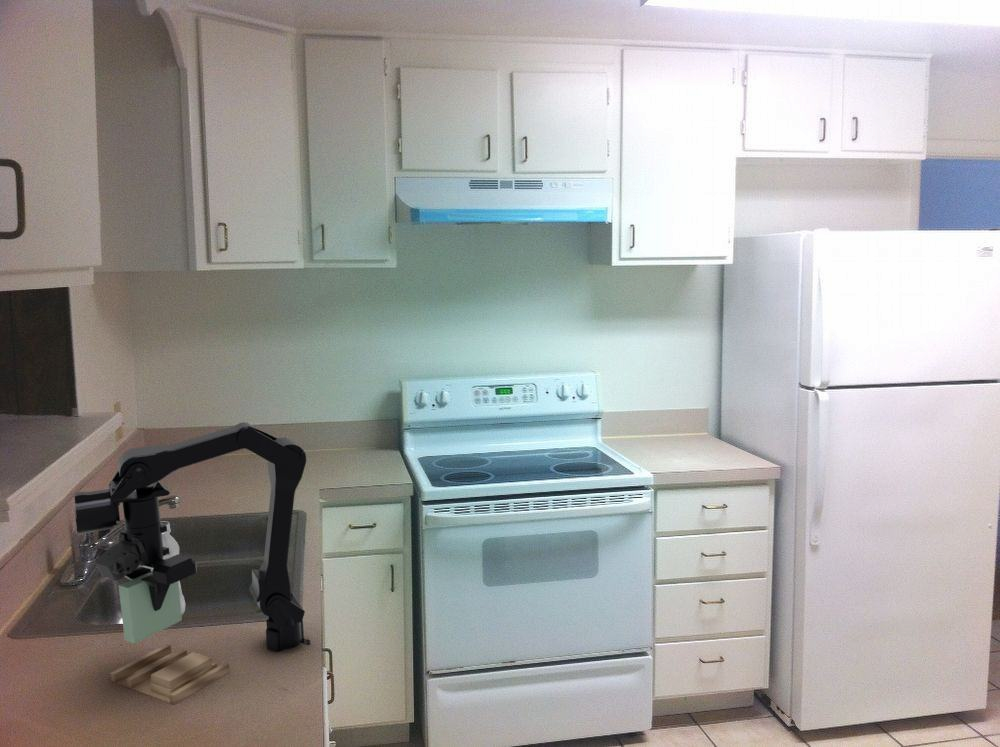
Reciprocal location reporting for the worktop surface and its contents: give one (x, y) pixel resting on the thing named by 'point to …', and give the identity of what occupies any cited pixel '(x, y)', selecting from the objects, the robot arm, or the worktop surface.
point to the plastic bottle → (173, 551)
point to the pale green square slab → (146, 609)
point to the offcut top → (181, 670)
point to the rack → (142, 668)
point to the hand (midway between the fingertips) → (152, 608)
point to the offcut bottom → (166, 691)
